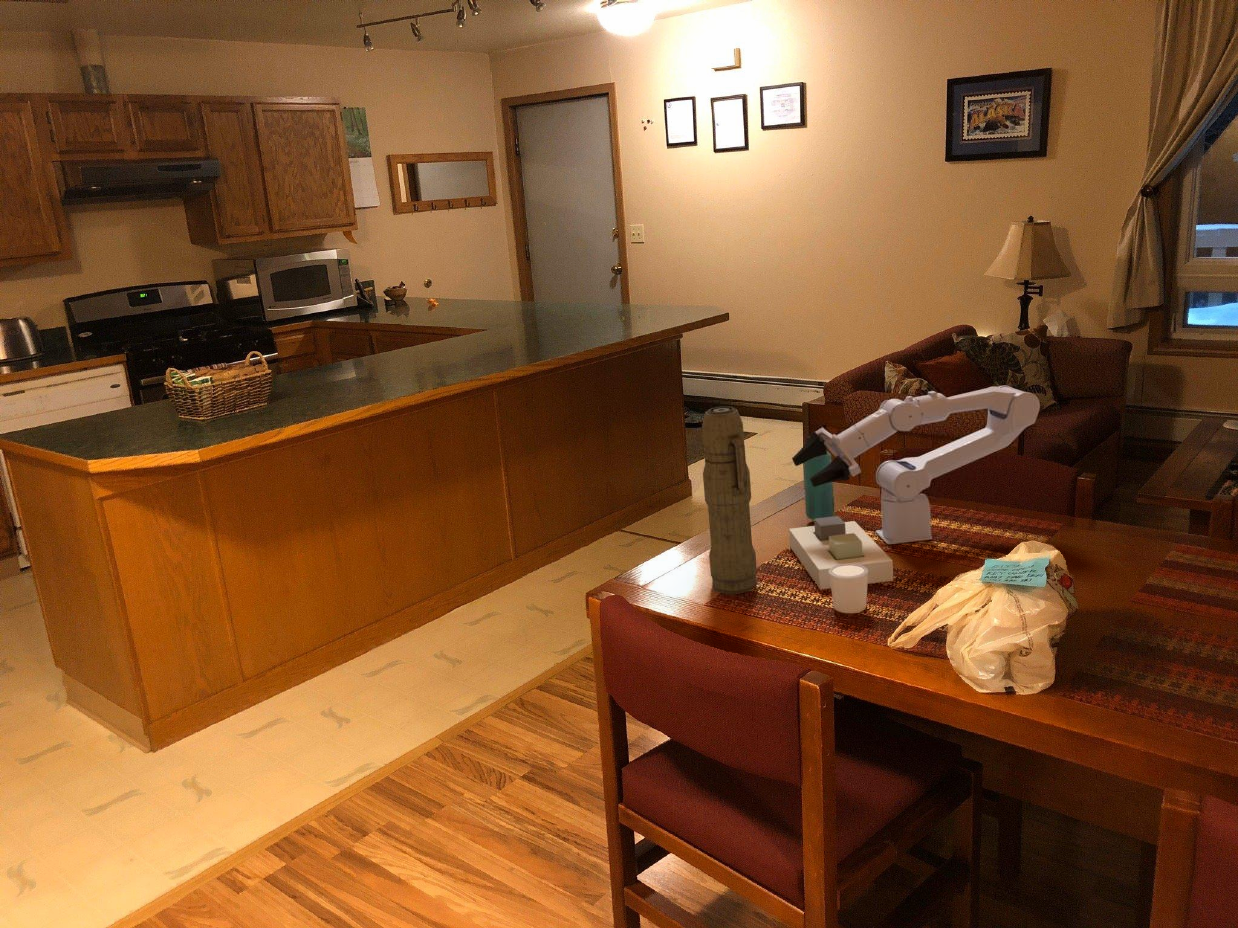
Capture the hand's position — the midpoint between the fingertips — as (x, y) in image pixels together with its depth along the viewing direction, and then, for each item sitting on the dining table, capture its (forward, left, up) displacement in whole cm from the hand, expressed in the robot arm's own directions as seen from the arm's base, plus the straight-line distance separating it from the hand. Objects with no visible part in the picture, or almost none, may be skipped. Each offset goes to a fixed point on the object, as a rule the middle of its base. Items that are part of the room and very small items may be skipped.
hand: (802, 472), depth 199 cm
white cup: (0, +29, -17) cm, 34 cm away
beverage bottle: (-7, -17, -17) cm, 25 cm away
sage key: (-4, +14, -13) cm, 19 cm away
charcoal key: (-4, +3, -13) cm, 14 cm away
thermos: (+18, +13, -17) cm, 28 cm away
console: (-4, +8, -17) cm, 19 cm away
